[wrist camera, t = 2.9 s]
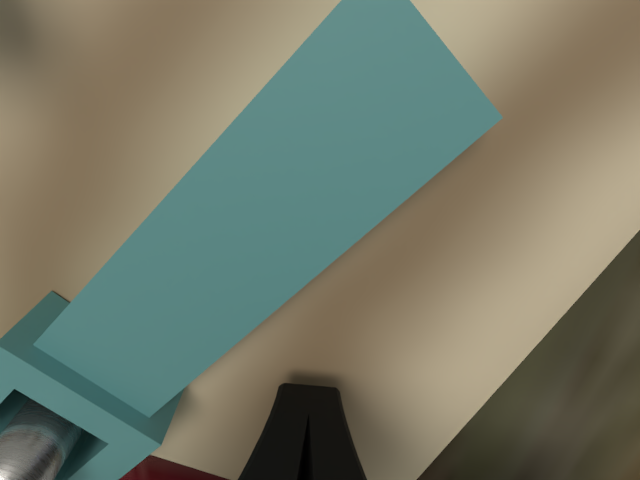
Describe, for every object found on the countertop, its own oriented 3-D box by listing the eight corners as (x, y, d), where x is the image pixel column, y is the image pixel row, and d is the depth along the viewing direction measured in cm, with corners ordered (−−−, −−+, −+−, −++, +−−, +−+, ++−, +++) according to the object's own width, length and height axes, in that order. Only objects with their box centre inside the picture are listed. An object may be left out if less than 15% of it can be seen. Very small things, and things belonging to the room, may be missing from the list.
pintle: (115, 369, 11) (33, 500, 8) (103, 406, 11) (22, 540, 8) (58, 350, 10) (-49, 477, 7) (49, 388, 11) (-55, 520, 8)
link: (104, 452, 12) (69, 518, 10) (-24, 378, 11) (-87, 440, 9) (491, 123, 8) (533, 148, 6) (347, -55, 7) (352, -81, 5)
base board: (744, 40, 8) (806, 42, 7) (372, 487, 14) (375, 524, 13) (-571, -794, 5) (-833, -1032, 4) (-320, 260, 11) (-390, 285, 10)
